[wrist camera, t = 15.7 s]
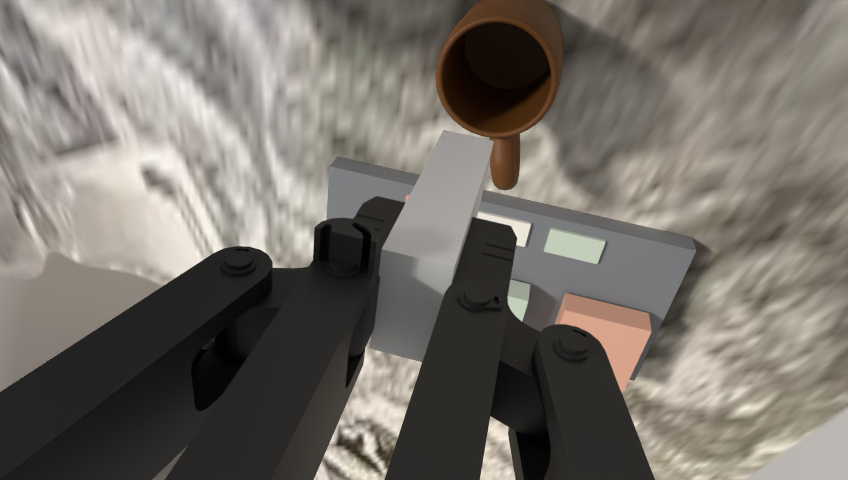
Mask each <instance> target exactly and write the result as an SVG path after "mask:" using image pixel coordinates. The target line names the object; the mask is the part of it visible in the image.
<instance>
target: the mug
mask: <svg viewBox="0 0 848 480" xmlns="http://www.w3.org/2000/svg"><path fill="white" fill-rule="evenodd" d="M562 63H563V34H562V29H561V25H560V23H559V20H558V18H557V16H556V14H555V13H554V11H553V10H552V9H551V7H550V6H549V5H548V4H547V3H546V2H545V1H543V0H479V1H478V2H477V3H476V4H475V5H473V6H472V7H471V9H470V10H469V11H468V12H467V13H466V14H465V16H464V17H463V18H462V19H461V20H460V21H459V23H458V24H457V25H456V26H455V28H454V29H453V30H452V32H451V33H450V35H449V36H448V38H447V40H446V41H445V43H444V45H443V48H442V50H441V53H440V56H439V58H438V62H437V67H436V86H437V92H438V95H439V98H440V100H441V102H442V105H443V107H444V108H445V110H446V111H447V113H448V114H449V115H450V116H451V118H452V119H453V120H454V121H455V122H457V123H458V124H459V125H460V126H462V127H463V128H465V129H466V130H468V131H470V132H472V133H475V134H477V135H481V136H485V137H490V140H491V141H494V143H493V148H492V152H491V157H490V167H491V175H492V181H493V183H494V185H495V186H496V187H497V188H498V189H500V190H509V189H512V188H513V187H515V185H516V184H517V182H518V177H519V169H520V133H522V132H524V131H526V130H528V129H530V128H531V127H533V126H534V125H535V124H537V123H538V122H539V121H540V120H541V119H542V118H543V117H544V116H545V114H546V113H547V112H548V110H549V109H550V107H551V105H552V103H553V101H554V99H555V96H556V93H557V91H558V88H559V85H560V80H561V74H562Z"/></svg>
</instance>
